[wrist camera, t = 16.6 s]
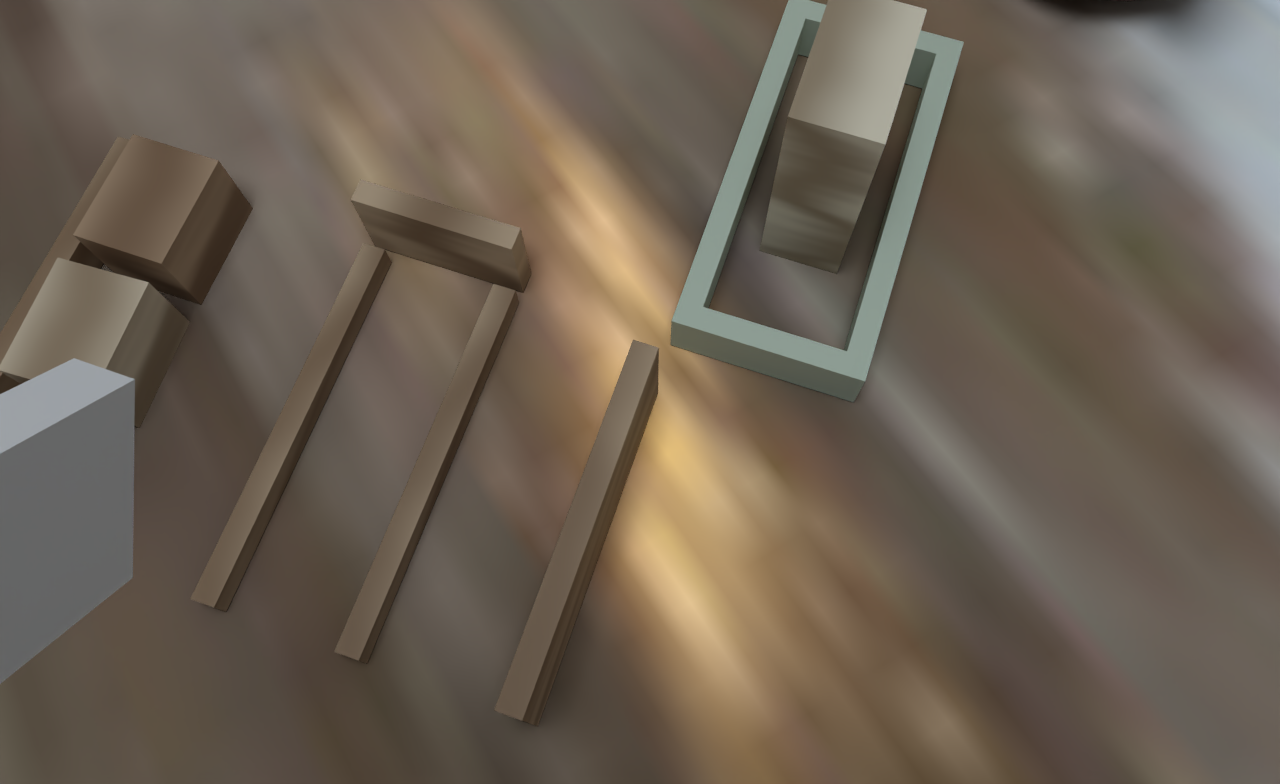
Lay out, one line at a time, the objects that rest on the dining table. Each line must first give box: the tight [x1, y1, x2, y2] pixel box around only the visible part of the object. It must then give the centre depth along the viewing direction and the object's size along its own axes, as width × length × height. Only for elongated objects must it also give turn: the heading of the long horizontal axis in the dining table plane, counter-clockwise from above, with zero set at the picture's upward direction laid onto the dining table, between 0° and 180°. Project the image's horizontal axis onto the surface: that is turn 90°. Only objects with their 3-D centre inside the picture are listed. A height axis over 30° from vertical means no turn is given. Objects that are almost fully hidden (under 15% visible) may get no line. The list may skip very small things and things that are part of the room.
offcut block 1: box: [73, 134, 253, 305], centre depth 44 cm, size 4×5×4 cm
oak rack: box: [0, 137, 659, 726], centre depth 41 cm, size 26×18×5 cm
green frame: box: [671, 0, 964, 402], centre depth 45 cm, size 8×17×2 cm, turn 161°
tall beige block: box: [760, 0, 927, 274], centre depth 42 cm, size 4×6×10 cm, turn 161°
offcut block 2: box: [0, 258, 190, 428], centre depth 42 cm, size 4×5×4 cm
